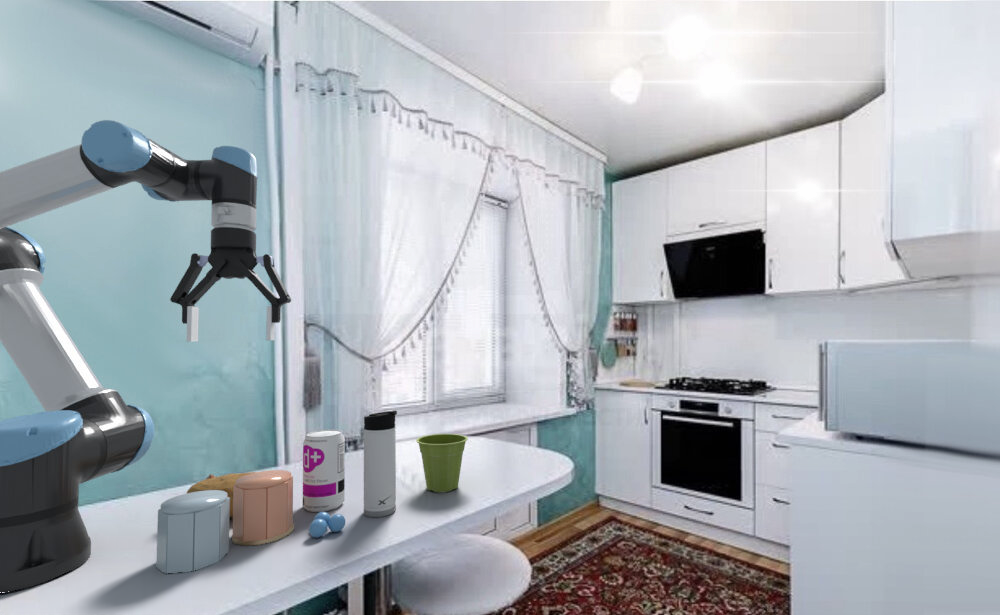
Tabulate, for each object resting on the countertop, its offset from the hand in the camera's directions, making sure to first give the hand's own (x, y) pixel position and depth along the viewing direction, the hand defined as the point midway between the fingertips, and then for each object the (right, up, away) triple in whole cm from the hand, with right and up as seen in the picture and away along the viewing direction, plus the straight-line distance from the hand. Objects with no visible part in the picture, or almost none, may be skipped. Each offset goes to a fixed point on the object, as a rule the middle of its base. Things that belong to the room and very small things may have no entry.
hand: (232, 341), depth 87 cm
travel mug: (+27, -35, +6) cm, 44 cm away
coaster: (+8, -34, -4) cm, 36 cm away
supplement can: (+14, -35, +9) cm, 39 cm away
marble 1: (+18, -34, -2) cm, 39 cm away
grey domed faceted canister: (+2, -34, -13) cm, 36 cm away
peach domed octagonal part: (+8, -34, -4) cm, 35 cm away
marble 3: (+21, -34, -4) cm, 40 cm away
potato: (-4, -35, +4) cm, 36 cm away
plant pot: (+37, -36, +20) cm, 55 cm away
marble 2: (+19, -34, -6) cm, 39 cm away
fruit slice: (-12, -36, +14) cm, 41 cm away
